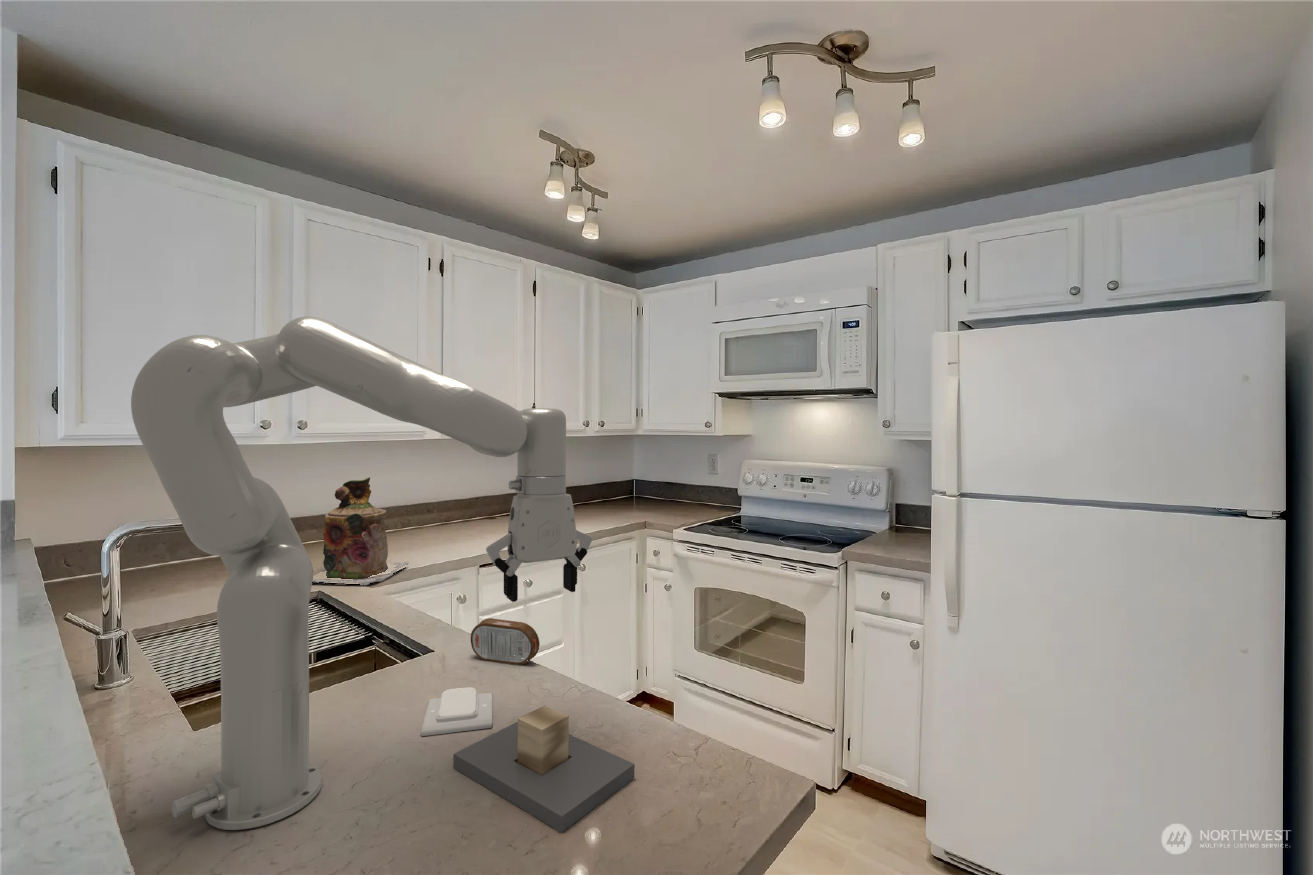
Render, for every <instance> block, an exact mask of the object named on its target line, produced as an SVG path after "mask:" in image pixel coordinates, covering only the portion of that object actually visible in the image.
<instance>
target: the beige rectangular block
mask: <svg viewBox="0 0 1313 875" xmlns="http://www.w3.org/2000/svg"><path fill="white" fill-rule="evenodd" d="M569 718H570V717H569V715H568V714H566V713H564V712H561V711H560V710H559V711H558V710H556V709H554V708H552V707H550V706H547V705H543V706H541V707H538V708H537V709H534V710H533V711H530V712H529V713H526V714H525V715H523V716H521V717H518V718H517V722H518V751H517V763H518V764H520V765H522V766H524V767H526V768H528V769H529V770H531V771H533V772H535V773H537V774H539V775H541V776H542V775H544V774H545V773H547V772H549V771H550V770H552V769H553V768H555V767H557V766H558V765H560V764H561V763H563V762H565V761H566V760H568V734H570V732H569V729H570V728H569V724H570V722H569V721H570V720H569Z"/></svg>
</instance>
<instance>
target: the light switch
mask: <svg viewBox="0 0 1313 875" xmlns="http://www.w3.org/2000/svg"><path fill="white" fill-rule="evenodd" d="M493 697H494V696H493V693H492V692H485V693H477V690H476V688H475V687H471V686H469V687H460V688H449V689H446V690H444V691H443V692H442V693H441V695H440V697H438V698H430V699H429V701H428V703H427V706H426V711H425V714H424V719H423V721H422V725H421V729H420V736H421V737H426V736H435V735H442V734H443V735H444V734H451V733H459V732H467V731H475V730H484V729H491V728H493V713H494V712H493V708H494V707H493V706H494V705H493V702H494V701H493Z"/></svg>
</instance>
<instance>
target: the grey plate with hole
mask: <svg viewBox="0 0 1313 875" xmlns="http://www.w3.org/2000/svg"><path fill="white" fill-rule="evenodd" d="M517 751H518V721H516V722H514V723H512V724H510V725H508V726H506V727H505V728H502V729H500V730H498V731H496V732H494V733H492V734H490V735H488V736H486V737H484V738H482V739H480V740H478V741H476V742H474V743H472V744H470V745H468V746H467V747H464V748H462V749H460V750H458V751H456V752H454V753H453V758H452V760H453V764H452V765H453V766H452V767H453V768H454V769H455V770H456V771H458V772H459V773H462V774H463V775H465V776H466V777H468V778H470V779H471V780H473V781H475V782H477V784H480V785H481V786H483V787H485V788H487V789H488V790H490V791H492V792H493V793H494V794H497V795H498V796H499V797H501V798H503V799H505V800H506V801H508V802H510V804H513V805H514V806H516V807H517V808H520V809H521V810H523V811H524V812H526V813H528V814H529V815H531V816H532V817H535V818H536V819H538V820H540V821H541V822H543V823H544V824H546V825H548V826H550V827H551V828H552V829H554V830H556V831H558V832H559V833H561V834H562V833H563V832H565V831H567V829H569V828H570V827H572V826H573V825H574V824H575V823H577V822H578V821H579V820H581V819H583V817H584V816H586V815H587V814H588V813H590V812H591V811H593V810H594V809H596V808H597V807H598V806H599V805H601V804H602V803H604V802H605V801H606V800H607V799H608V798H610V797H611V796H613V795H614V794H615V793H617V792H619V790H620V789H622V788H623V787H624V786H626V785H628V783H630V782H632V781H633V780H634V779H635V767H636V766H635V763H633V762H631V761H629V760H628V759H625V758H622V757H621V756H618V755H616V754H614V753H612V752H609V751H607V750H605V749H603V748H601V747H598V746H596V745H595V744H592V743H590V742H587V741H585V740H584V739H580V738H578V737H576V736H574V735H573V734H570V733H569V734H568V760H566V761H565V762H563V763H561V764H560V765H558V766H557V767H555V768H553V769H552V770H550V771H549V772H547V773H545V774H544V775H542V776H541V775H539V774H537V773H535V772H533V771H531V770H529V769H528V768H526V767H524V766H522V765H520V764H518V763H517Z"/></svg>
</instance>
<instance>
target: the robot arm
mask: <svg viewBox="0 0 1313 875" xmlns="http://www.w3.org/2000/svg"><path fill="white" fill-rule="evenodd" d="M314 387H319V388H320V389H321V388H322V389H324V390H327V391H328V392H330V393H333V394H336V395H338V396H340V397H342V398H343V399H344V398H345V399H347V400H350V402H351V401H352V402H354V403H356V404H359V405H361V406H363V407H366V408H368V409H369V410H370V409H371V410H373V411H375V412H377V413H379V414H382V415H384V416H386V417H390V418H392V419H394V420H397V421H400V422H404V423H409V424H414V425H416V426H420V427H424V428H426V429H429V430H431V431H434V432H437V433H439V434H441V435H444V436H447V437H448V438H451V439H454V440H456V441H458V442H461V443H463V444H465V445H467V446H469V447H470V448H471V449H472V450H473V451H475V452H476V453H480V454H482V455H486V456H491V457H495V458H507V457H510V456H512V455H515V454H516V453H517V461H516V462H517V466H516V467H517V475H516V476H515V479H514V480H509V481H508V489H509V490H514V491H515V493H517V494H516V495H513V497H512V500H511V507H510V512H509V518H508V530H507V534H506V535H504V536H503V537H501V538H499V539H497V540H496V541H494V542H493V543H491V544H490V545H488V546H486V549H485V551H486V553H487V556H488V557H489V559H490V560H491V563H492V564H493V565H494V566H495V567H496V568H497V569H498V570H500V572H501V573H503V594H504V595H505V597H506V599H508V600H510V602H512V603H515V602H517V601H518V598H519V597H518V596H519V593H518V591H519V588H518V587H519V586H518V585H519V584H518V583H519V580H518V579H519V578H518V575H517V574H516V571H517V570H518V569H519V568H520V566H521V565H522V563H524V564H530V563H531V564H532V563H540V562H548V561H556V560H561V559H564V561H565V562H566V563H564V564H563V570H562V571H563V573H562V577H563V578H562V579H563V584H562V585H563V586H562V587H563V588H564V589H565V590H567V591H569V592H570V593H574V592H575V593H576V586H577V584H578V567H579V566H581V562H582V560H583V559H584V558H585V557H586V556H587V554H588V551H589V548H590V546H591V544H592V541H593V538H592V536H590V535H588V534H586V533H584V532H581V531H579V530H577V526H576V525H577V524H576V517H575V516H576V515H575V508H574V504H573V499H572V495H571V494H569V493H567V418H566V414H565V413H564V411H562V410H561V409H559V408H558V409H557V408H544V407H540V408H538V407H537V408H536V407H535V408H525V409H522V410H519V409H517V408H515V407H513V406H511V405H510V404H508V403H505V402H503V401H501V400H500V399H497V398H496V397H493V396H491V395H489V394H488V393H485V392H482V391H481V390H479V389H477V388H474V387H472V386H470V385H467V384H465V383H463V382H461V381H459V380H456V379H454V378H451V377H448V376H446V375H444V374H442V373H440V372H438V371H436V370H433V369H432V368H429V367H427V366H425V365H423V364H420V363H418V362H415V361H413V360H411V359H409V358H407V357H405V356H403V355H400V354H399V353H396V352H394V351H392V350H390V349H389V348H386V347H383V346H381V345H379V344H377V343H375V342H373V341H371V340H369V339H366V337H365V338H364V337H363V336H361V335H359V334H356V333H354V332H353V331H350V330H348V329H346V328H344V327H341V326H339V325H338V324H335V323H333V322H331V321H329V320H326V319H323V318H320V317H315V316H308V315H307V316H300V317H297V318H294V319H292V320H290V321H289V322H287V323H286V324H285V325H284V326H283V327H281V329H280V331H279V333H278V334H272V335H267V336H263V337H259V338H254V339H249V340H244V341H239V342H234V343H233V342H230V341H228V340H226V339H223V338H220V337H217V336H213V335H206V334H205V335H204V334H198V335H197V334H196V335H195V334H194V335H189V336H188V335H187V336H184V337H181V338H178V339H175V340H173V341H170V342H169V343H168V344H166V345H164V346H163V347H162V348H160V349H159V350H157V352H155V353H154V354H153V355H152V356H151V357H150V358H149V359H148V360H147V361H146V362H145V364H144V365H143V366H142V368H141V370H140V371H139V372H138V374H137V376H136V378H135V380H134V383H133V386H132V392H131V398H130V400H131V401H130V404H131V405H130V409H131V417H132V420H133V424H134V427H135V429H136V433H137V435H138V438H139V439H140V442H141V444H142V445H143V448H144V449H145V452H146V453H147V455H148V457H149V460H150V462H151V463H152V465H153V467H154V469H155V471H156V473H157V476H158V478H159V480H160V483H161V485H162V487H163V489H164V491H165V492H166V494H167V497H168V498H169V500H170V502H171V504H172V506H173V509H174V510H175V512H176V514H177V516H178V518H179V521H180V523H181V524H182V527H183V529H184V531H185V533H186V535H187V537H188V538H189V540H190V542H191V543H192V544H194V546H195V547H196V548H198V550H200V551H202V552H204V553H205V554H209V555H213V556H217V557H218V556H219V558H220V559H221V561H222V563H223V565H224V566H225V568H226V571H227V572H228V574H229V576H228V578H227V579H226V580H225V582H224V584H223V585H222V587H221V589H220V590H221V591H220V593H219V596H218V600H217V607H216V608H217V609H216V622H217V632H218V633H217V635H218V641H219V650H220V651H219V652H220V653H219V654H220V655H219V656H220V658H219V660H220V695H221V696H220V702H221V703H220V771H218V772H215V773H213V774H212V783H209V784H207V785H204V786H203V790H200V791H196V792H195V793H190V794H187V795H185V796H183V797H179V798H177V799H174V800H172V801H171V812H172V816H173V818H174V819H177V818H180V817H182V816H184V815H186V814H189V813H191V816H192V819H193V820H195V819H198V818H200V817H203V816H205V819H206V822H207V823H208V824H209V825H210V826H211V827H213V828H217V829H219V830H226V831H238V830H239V831H240V830H249V829H253V828H259V827H264V826H266V825H270V824H272V823H275V822H278V821H279V820H280V821H281V820H282V819H284V818H286V817H289V816H291V815H293V814H294V813H296V812H298V811H300V810H301V809H302V808H304V807H305V806H307V805H308V804H309V803H310V802H311V801H312V800H313V799H315V798H316V796H317V795H319V792H320V791H321V788H322V785H323V774H322V772H321V770H320V769H319V768H318V767H316V766H315V765H313V764H309V763H310V640H309V639H310V634H309V633H310V632H309V630H310V629H309V628H310V627H309V622H310V621H309V616H310V615H309V614H310V612H309V611H310V610H309V609H310V597H311V596H310V595H311V591H312V585H313V583H314V582H313V575H314V568H313V564H312V561H311V558H310V556H309V554H308V552H307V550H306V547H305V546H304V544H303V541H302V540H301V537H300V535H299V533H298V531H297V529H296V527H295V525H294V524H293V521H292V519H291V517H290V516H289V514H288V511H287V509H286V507H285V504H284V503H283V501H282V499H281V497H280V495H279V494H278V493H277V491H276V490H275V489H274V488H273V487H272V486H271V485H270V484H268V483H267V482H266V481H264V480H262V479H260V478H258V477H254V476H253V474H252V473H251V470H250V469H249V467H248V465H247V463H246V461H245V459H244V457H243V454H242V452H241V450H240V447H239V445H238V443H237V440H235V437H234V436H233V434H232V432H231V431H230V429H229V428H228V425H227V423H226V421H225V417H224V408H233V407H239V406H244V405H247V404H248V405H249V404H252V403H256V402H259V401H260V402H261V401H263V400H267V399H272V398H275V397H280V396H283V395H287V394H293V393H296V392H299V391H300V392H301V391H303V390H307V389H311V388H314ZM577 540H578V541H579V546H578V544H577V543H578V542H577ZM577 546H578V547H577ZM505 548H507V554H508V557H507V558H506V560H503V559H502V557H501V555H500V552H501V551H502V550H504V549H505ZM312 582H313V583H312Z"/></svg>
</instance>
